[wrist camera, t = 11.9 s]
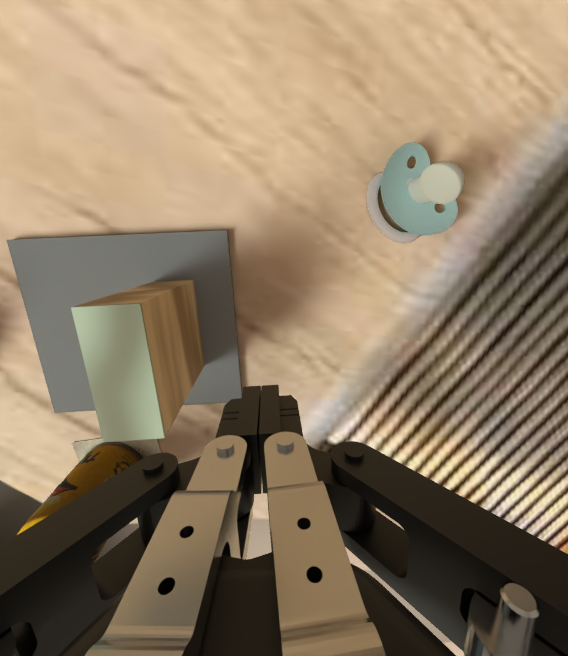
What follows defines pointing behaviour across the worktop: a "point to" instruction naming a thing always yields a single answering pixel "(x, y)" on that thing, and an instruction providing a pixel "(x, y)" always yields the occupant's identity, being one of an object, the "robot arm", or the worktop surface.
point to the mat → (116, 276)
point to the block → (141, 356)
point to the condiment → (93, 473)
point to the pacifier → (415, 194)
